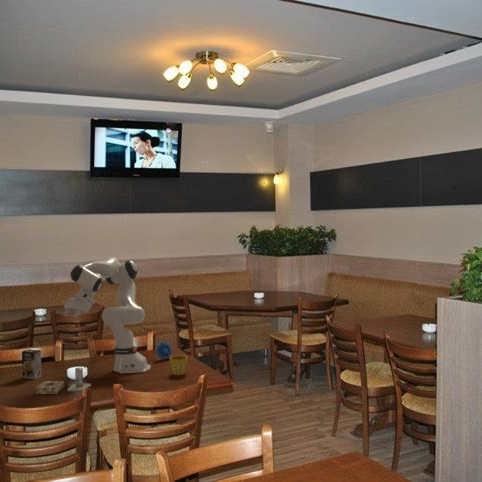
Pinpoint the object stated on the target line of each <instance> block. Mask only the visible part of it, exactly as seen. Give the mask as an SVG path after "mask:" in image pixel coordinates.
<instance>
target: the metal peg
mask: <svg viewBox="0 0 482 482" xmlns="http://www.w3.org/2000/svg"><path fill="white" fill-rule="evenodd" d="M83 371H84V370H83V367H76V368H75V369H74V375H75V384H76V387H83V384H84V372H83Z"/></svg>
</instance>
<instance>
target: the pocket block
mask: <svg viewBox="0 0 482 482" xmlns="http://www.w3.org/2000/svg"><path fill="white" fill-rule="evenodd" d="M64 388H65V380H50V381H49V380H44V381H42V382H41V383H40V384H38V385H37V386H36V387H35V394H36V395H53V394H54V395H57V394H59V392H61V391H62V390H63V389H64Z"/></svg>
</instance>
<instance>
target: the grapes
mask: <svg viewBox="0 0 482 482" xmlns="http://www.w3.org/2000/svg"><path fill="white" fill-rule="evenodd" d="M155 347H156V348H155V353H156V356H157V357H158V358H161V359H162V360H166V359H170V357H171V355H172V354H173V350H172V348H173V347H172V346H171V345H169V342H167V341H165V342H164V341H160V342H159V343H157V344H156V345H155Z"/></svg>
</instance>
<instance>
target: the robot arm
mask: <svg viewBox="0 0 482 482" xmlns="http://www.w3.org/2000/svg"><path fill="white" fill-rule="evenodd" d="M138 270H139V268H138V265H137V263H136V262H135V261H134V260H132V259H131V260H126V261H125V262H124V261H123V262H121V263H120V260H119V258H117V257H115V256H109V257H106V258H104V259H102V260H92V261H88V262H86V263H83V264H78V265H76V266H74V267H73V269H72V270H71V272H70V275H69V276H70V279H71V281H73V282H75V283H77V284H78V285H80V286H82V287H81V288H80V289H79V290H78V292H77V293H76V294H75V295H74V296H72V297H70V298H69V299H68V300H67V301H66V302H65V303H64V305H63V308H64V309H65V311H64V313H63V316H64V317H68V316H69V312H76V313H74V314H73V315H72V318H74V319H77V318H78V317H79V316H80V315H81V314H82V313H83V314H86V313H88V312H89V311H90V309H91V308H92V307H93V305H94V304H95V303H96V300H95V299H93V298H94V296H95V294H96V293H97V292H99V291H100V289H101V288H102V286H103V284H104V283H103V282H104V279H105V282H107V283H108V284H109V285H113V286H114V285H117V284H118V283H119V288H118V290H117V296H116V303H117V305H118V306H111V307H105V309H103V310H102V314H101V319H102V321H103V322H104V324H105V325H107V326H108V327H110V329H111V330H112V332H113V335H114V342H115V343H114V344H115V347H114V356H115V361H114V367H113V371H114V372H117V373H119V374H135V373H146V372H149V371H150V370H151V368H152V366H151V364H148V361H147V358H146V357H145V356H144V355H142V354H141V353H140V352H138V346H135V345H134V344H135V343H134V333H133V332H132V331H131V330H130V329H127V328H125V326H124V325H135V324H136V325H137V324H140V323H143V321H144V319H145V316H146V312H145V310H144V308H143V307H141V306H140V305H138V303H136V293H137V292H136V283H135V282H134V280H135V279H136V278H137V274H138Z"/></svg>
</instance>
